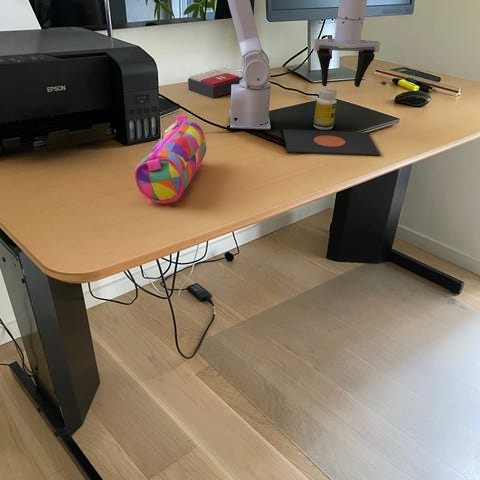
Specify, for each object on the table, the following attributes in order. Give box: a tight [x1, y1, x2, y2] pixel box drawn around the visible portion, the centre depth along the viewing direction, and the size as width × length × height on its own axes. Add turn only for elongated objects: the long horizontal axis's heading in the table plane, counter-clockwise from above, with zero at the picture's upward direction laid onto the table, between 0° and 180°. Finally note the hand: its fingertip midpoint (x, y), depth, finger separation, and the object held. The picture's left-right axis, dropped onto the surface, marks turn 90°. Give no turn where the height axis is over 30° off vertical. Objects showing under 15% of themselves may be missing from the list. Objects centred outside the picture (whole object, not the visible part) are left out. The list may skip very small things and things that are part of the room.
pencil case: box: [133, 114, 207, 205], centre depth 92 cm, size 22×9×9 cm, turn 174°
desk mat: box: [282, 129, 381, 157], centre depth 115 cm, size 20×14×1 cm
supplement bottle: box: [313, 87, 337, 131], centre depth 121 cm, size 5×5×8 cm
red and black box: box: [187, 67, 243, 99], centre depth 145 cm, size 11×4×15 cm
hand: (340, 85), depth 117 cm, fingers open, 7 cm apart
